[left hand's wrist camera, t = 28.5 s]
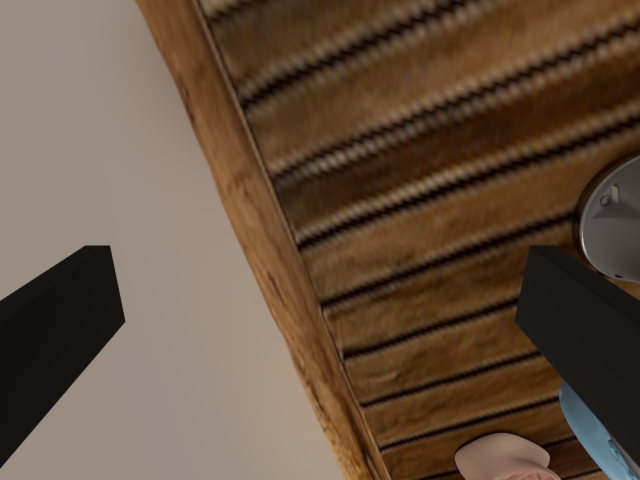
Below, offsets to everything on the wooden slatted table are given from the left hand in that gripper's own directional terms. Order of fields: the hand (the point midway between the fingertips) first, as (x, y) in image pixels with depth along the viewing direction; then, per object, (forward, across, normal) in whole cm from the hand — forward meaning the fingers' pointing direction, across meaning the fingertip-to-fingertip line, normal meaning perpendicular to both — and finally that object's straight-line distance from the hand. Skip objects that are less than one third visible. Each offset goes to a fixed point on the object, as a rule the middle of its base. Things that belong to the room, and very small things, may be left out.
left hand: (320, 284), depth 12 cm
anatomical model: (+32, +27, -46) cm, 62 cm away
